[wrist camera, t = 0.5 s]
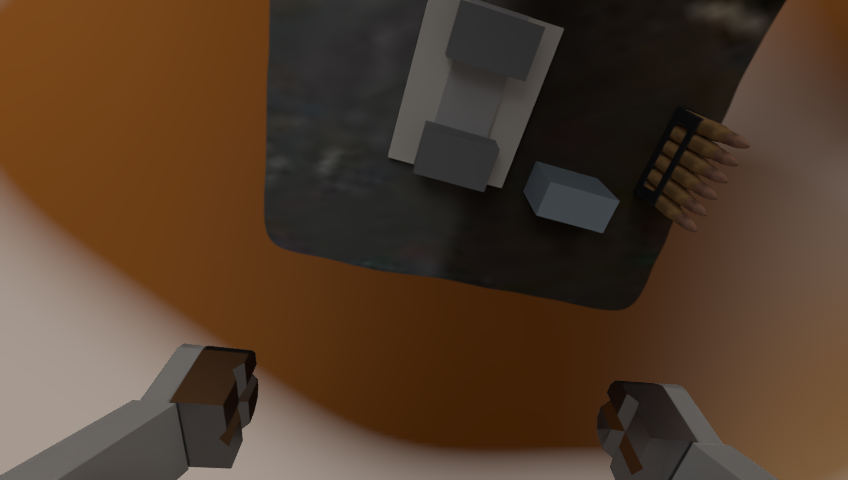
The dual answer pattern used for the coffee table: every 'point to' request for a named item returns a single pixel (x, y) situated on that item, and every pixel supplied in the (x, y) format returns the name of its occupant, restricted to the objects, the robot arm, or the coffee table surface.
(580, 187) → the block
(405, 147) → the board
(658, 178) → the ammunition clip
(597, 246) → the coffee table surface
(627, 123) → the coffee table surface
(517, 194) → the coffee table surface
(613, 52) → the coffee table surface
